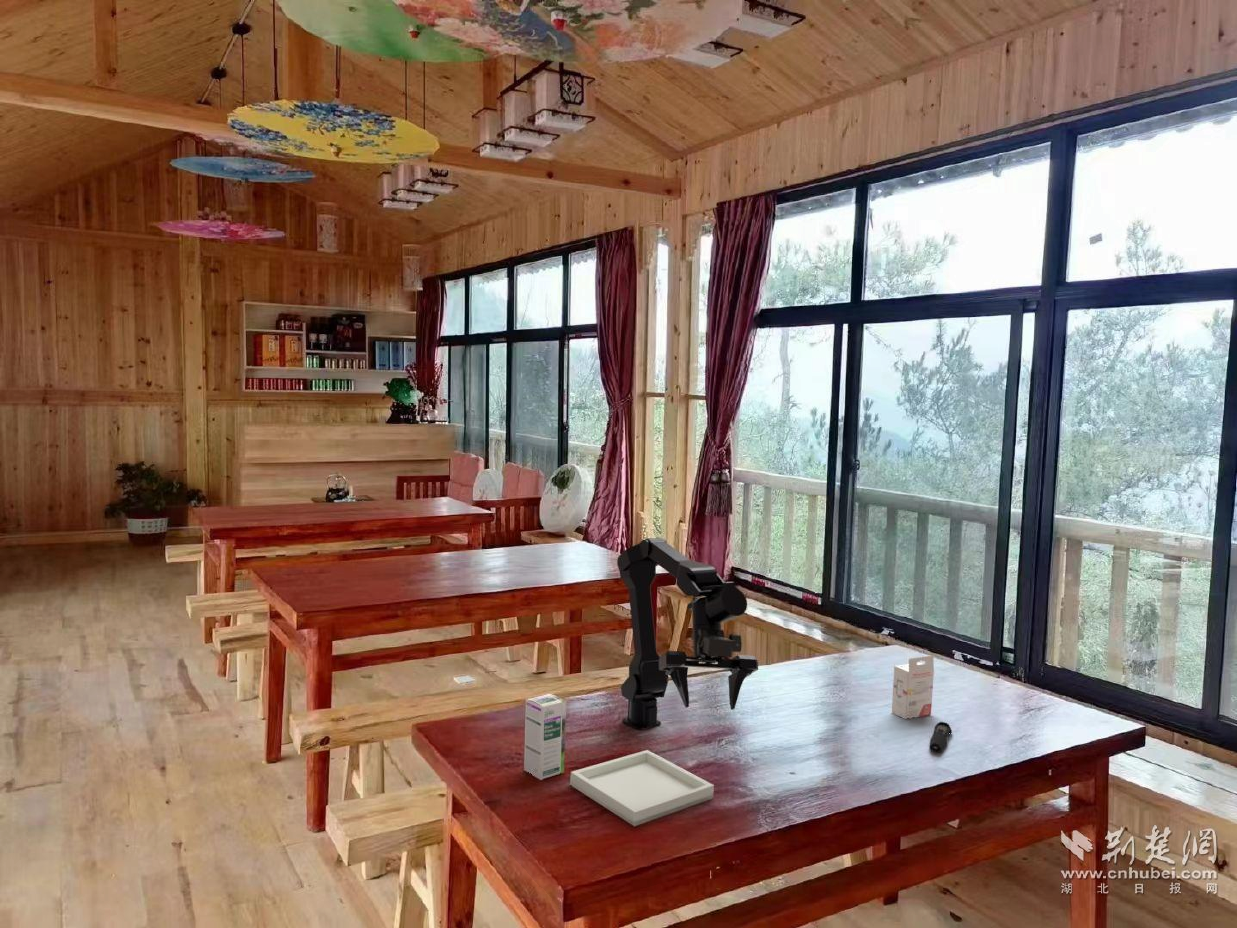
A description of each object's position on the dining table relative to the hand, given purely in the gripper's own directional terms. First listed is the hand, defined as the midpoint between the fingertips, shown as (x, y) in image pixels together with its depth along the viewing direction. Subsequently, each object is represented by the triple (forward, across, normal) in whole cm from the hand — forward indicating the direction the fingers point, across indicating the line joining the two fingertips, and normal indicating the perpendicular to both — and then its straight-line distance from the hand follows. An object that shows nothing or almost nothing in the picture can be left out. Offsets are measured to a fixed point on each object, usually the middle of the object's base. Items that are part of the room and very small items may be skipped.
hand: (710, 708), depth 167 cm
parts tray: (+15, -12, +6) cm, 20 cm away
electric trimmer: (+2, +60, +17) cm, 62 cm away
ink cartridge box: (-6, +63, +32) cm, 71 cm away
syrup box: (+11, -29, +16) cm, 35 cm away
